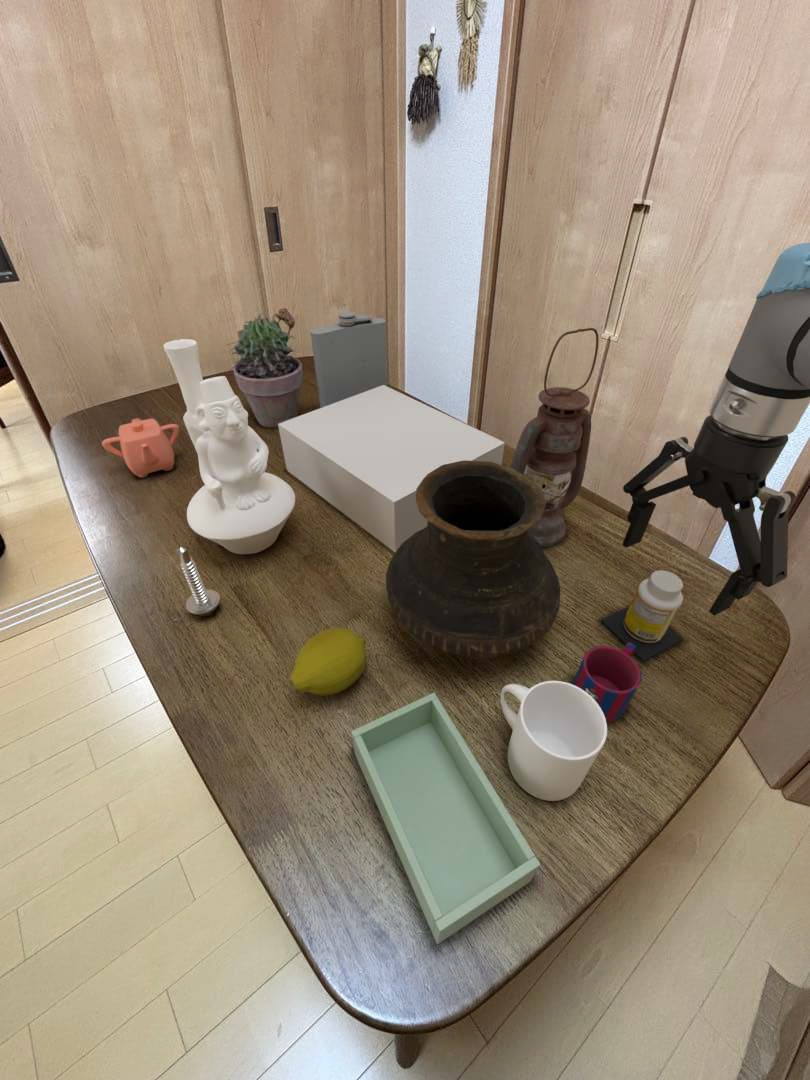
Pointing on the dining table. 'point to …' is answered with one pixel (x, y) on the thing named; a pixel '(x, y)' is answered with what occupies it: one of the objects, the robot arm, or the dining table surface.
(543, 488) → the lantern
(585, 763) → the mug
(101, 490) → the dining table surface
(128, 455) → the teapot
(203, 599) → the screw
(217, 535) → the white sculpted figure
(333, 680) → the lemon
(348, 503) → the box
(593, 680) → the cup
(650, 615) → the supplement bottle
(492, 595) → the ceramic pot
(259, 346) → the potted plant
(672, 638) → the coaster
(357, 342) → the flask
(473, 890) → the bin
